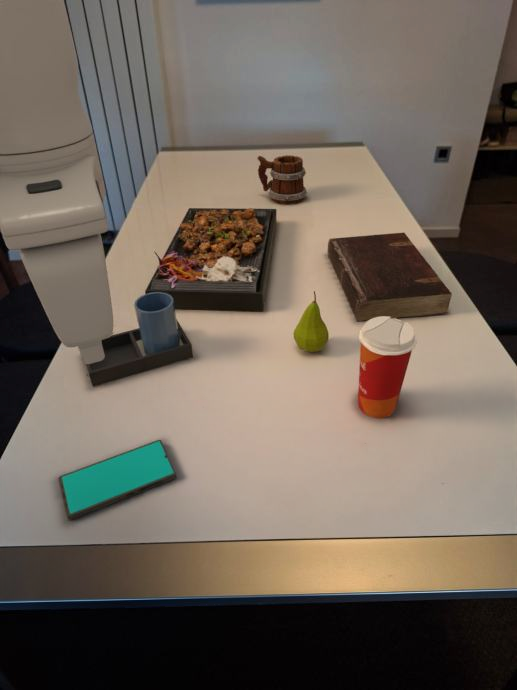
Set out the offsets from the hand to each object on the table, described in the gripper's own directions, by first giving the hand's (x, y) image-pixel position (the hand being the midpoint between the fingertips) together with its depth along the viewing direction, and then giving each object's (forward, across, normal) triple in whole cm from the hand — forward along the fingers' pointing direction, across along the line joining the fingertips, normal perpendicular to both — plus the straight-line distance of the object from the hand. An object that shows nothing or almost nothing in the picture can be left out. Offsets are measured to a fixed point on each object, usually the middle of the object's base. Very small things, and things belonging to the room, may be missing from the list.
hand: (84, 329), depth 45 cm
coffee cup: (+31, -5, +40) cm, 51 cm away
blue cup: (+30, -35, +13) cm, 48 cm away
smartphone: (+31, -8, -1) cm, 32 cm away
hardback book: (+31, -37, +64) cm, 80 cm away
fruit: (+31, -23, +38) cm, 54 cm away
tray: (+31, -35, +8) cm, 47 cm away
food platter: (+31, -64, +36) cm, 80 cm away
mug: (+31, -94, +68) cm, 120 cm away
